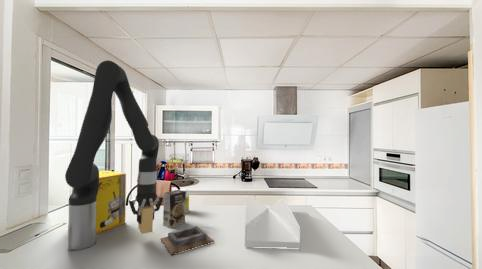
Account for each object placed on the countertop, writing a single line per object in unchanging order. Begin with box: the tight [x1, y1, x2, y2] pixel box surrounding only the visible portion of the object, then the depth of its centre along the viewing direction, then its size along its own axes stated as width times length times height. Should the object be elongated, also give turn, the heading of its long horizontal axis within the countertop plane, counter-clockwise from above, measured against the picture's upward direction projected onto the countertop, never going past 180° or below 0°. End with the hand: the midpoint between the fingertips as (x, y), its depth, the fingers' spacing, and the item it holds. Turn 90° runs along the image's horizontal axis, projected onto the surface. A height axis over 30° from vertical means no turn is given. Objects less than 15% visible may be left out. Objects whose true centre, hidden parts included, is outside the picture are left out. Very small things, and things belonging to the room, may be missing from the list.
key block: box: [137, 206, 154, 235], centre depth 95 cm, size 4×7×10 cm, turn 36°
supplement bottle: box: [179, 188, 190, 214], centre depth 131 cm, size 7×7×13 cm
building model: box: [244, 194, 301, 249], centre depth 114 cm, size 45×22×10 cm, turn 178°
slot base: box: [160, 225, 215, 256], centre depth 96 cm, size 18×14×4 cm
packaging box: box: [71, 170, 127, 235], centre depth 110 cm, size 16×16×25 cm
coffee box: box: [162, 189, 186, 229], centre depth 114 cm, size 9×6×16 cm
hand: (145, 221), depth 96 cm, fingers closed on key block, 4 cm apart
